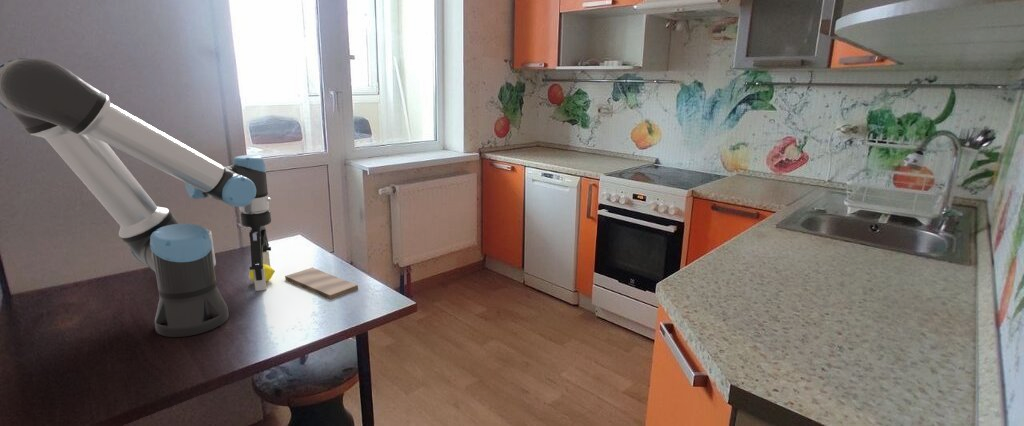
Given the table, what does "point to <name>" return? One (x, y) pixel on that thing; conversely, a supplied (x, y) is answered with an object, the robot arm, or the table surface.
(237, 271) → the table surface
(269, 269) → the lemon
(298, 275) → the cutting board
